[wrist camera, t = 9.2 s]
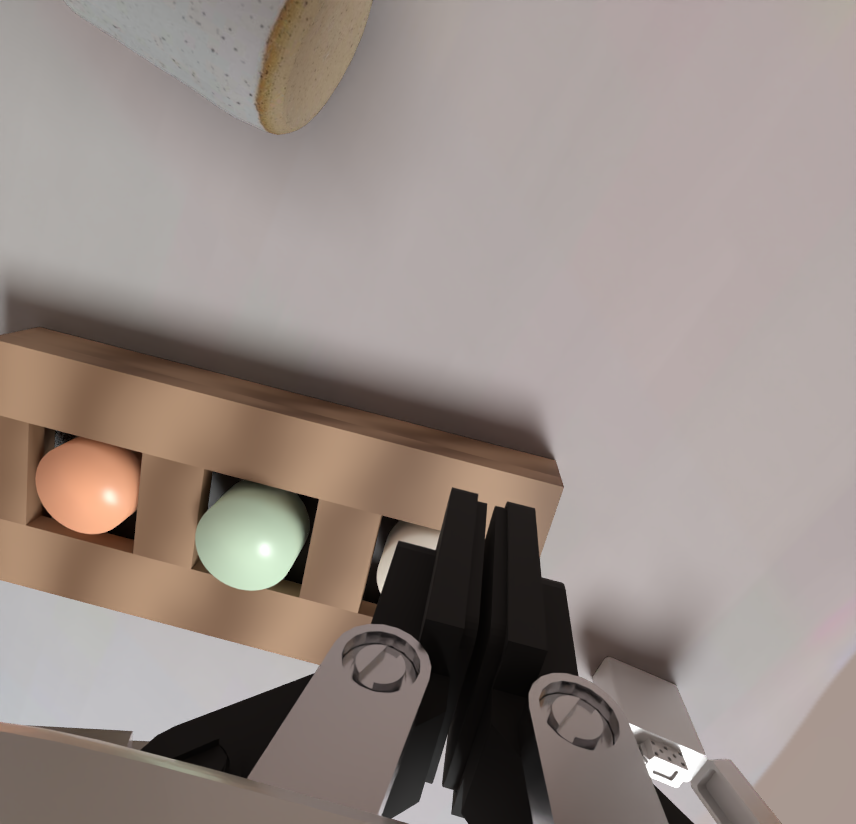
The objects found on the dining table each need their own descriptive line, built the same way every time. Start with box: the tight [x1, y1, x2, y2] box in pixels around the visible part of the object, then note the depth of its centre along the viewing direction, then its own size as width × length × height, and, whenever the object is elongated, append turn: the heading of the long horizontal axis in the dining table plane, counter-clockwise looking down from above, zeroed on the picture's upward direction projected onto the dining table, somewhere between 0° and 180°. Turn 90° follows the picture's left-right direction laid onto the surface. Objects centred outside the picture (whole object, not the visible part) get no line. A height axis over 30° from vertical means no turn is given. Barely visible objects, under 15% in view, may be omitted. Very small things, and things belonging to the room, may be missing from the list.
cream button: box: [377, 520, 440, 593], centre depth 27 cm, size 4×4×2 cm
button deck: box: [0, 327, 564, 665], centre depth 28 cm, size 25×12×3 cm, turn 76°
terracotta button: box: [35, 436, 142, 534], centre depth 28 cm, size 4×4×2 cm
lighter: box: [592, 657, 782, 824], centre depth 27 cm, size 7×2×8 cm, turn 67°
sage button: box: [195, 480, 310, 591], centre depth 27 cm, size 4×4×2 cm
